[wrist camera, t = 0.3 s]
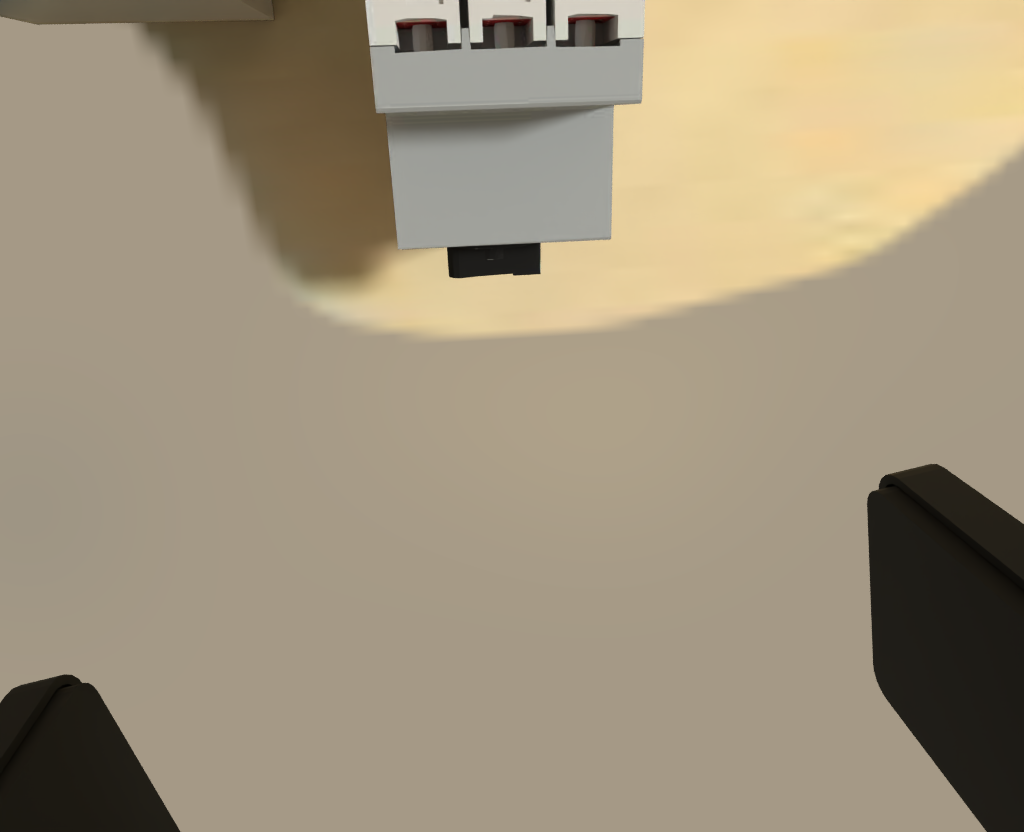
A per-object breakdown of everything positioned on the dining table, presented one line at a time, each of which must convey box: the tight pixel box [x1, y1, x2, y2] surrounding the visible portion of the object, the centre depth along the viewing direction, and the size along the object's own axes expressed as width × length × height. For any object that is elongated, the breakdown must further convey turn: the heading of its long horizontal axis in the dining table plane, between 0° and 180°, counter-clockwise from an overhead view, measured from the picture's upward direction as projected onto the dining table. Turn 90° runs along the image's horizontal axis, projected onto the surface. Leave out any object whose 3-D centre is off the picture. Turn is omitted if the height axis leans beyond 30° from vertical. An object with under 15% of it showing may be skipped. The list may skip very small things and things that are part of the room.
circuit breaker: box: [365, 0, 645, 278], centre depth 27 cm, size 8×14×15 cm, turn 2°
